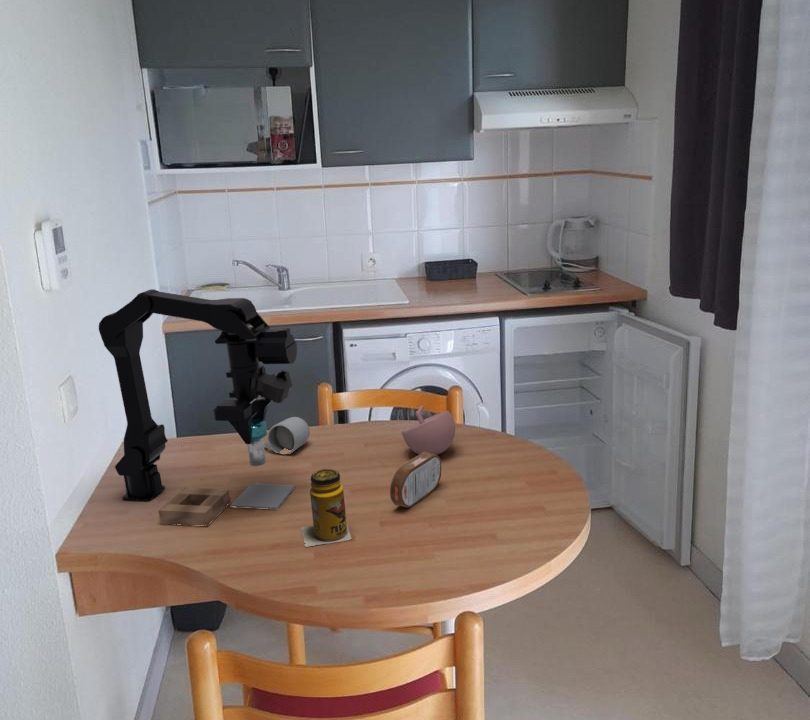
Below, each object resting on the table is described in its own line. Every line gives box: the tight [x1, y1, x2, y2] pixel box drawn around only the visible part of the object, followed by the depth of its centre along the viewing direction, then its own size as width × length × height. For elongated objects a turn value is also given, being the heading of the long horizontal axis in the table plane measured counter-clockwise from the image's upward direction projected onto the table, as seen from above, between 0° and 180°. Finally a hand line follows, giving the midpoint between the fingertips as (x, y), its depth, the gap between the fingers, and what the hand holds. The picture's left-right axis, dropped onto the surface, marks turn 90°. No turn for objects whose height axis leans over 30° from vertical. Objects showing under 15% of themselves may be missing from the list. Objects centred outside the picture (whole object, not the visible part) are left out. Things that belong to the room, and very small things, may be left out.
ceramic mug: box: [263, 416, 311, 455], centre depth 178 cm, size 11×8×8 cm
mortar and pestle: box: [401, 405, 456, 456], centre depth 168 cm, size 12×12×11 cm
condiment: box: [300, 468, 353, 548], centre depth 136 cm, size 7×8×12 cm
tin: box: [389, 452, 442, 508], centre depth 148 cm, size 15×3×8 cm, turn 145°
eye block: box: [158, 487, 232, 527], centre depth 148 cm, size 10×10×3 cm
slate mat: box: [230, 483, 296, 509], centre depth 154 cm, size 10×10×1 cm
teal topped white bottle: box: [246, 419, 268, 467], centre depth 150 cm, size 5×5×8 cm
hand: (254, 438), depth 150 cm, fingers closed on teal topped white bottle, 5 cm apart
